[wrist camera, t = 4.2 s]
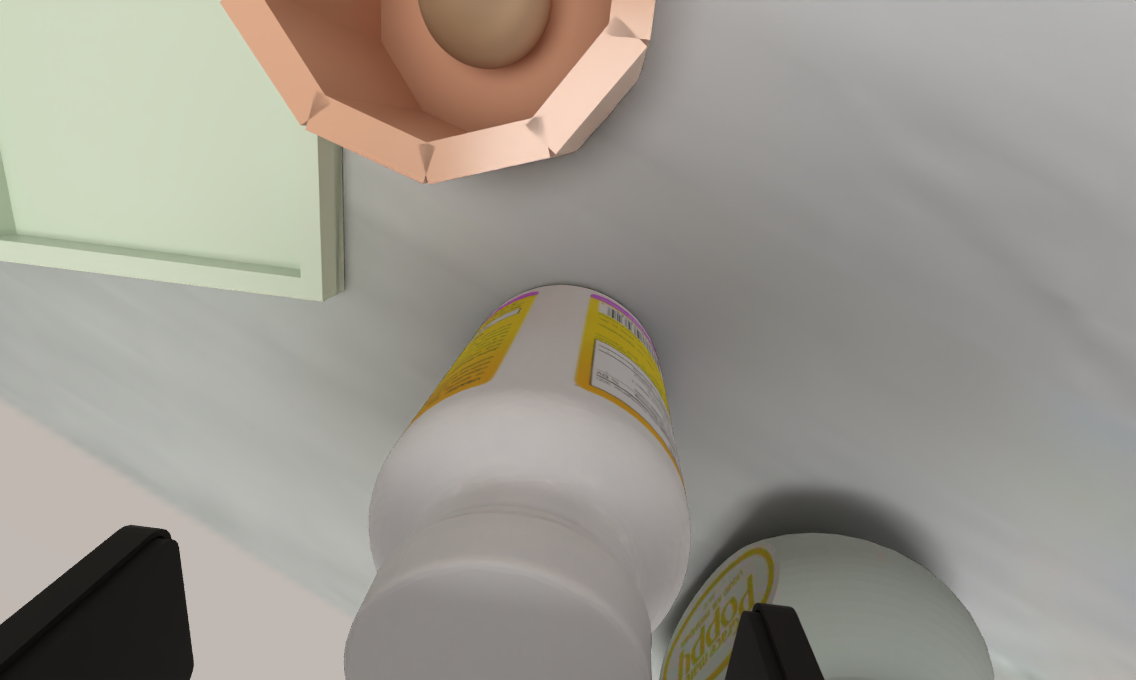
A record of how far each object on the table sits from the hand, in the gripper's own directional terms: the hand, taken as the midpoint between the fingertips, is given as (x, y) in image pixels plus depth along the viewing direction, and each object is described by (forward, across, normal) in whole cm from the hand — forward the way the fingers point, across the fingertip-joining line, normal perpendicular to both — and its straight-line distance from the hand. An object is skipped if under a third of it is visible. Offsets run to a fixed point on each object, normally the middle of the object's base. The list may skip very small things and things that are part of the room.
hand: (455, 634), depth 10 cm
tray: (+12, +13, -8) cm, 19 cm away
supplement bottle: (+12, -1, 0) cm, 12 cm away
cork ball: (+11, +2, -11) cm, 16 cm away
